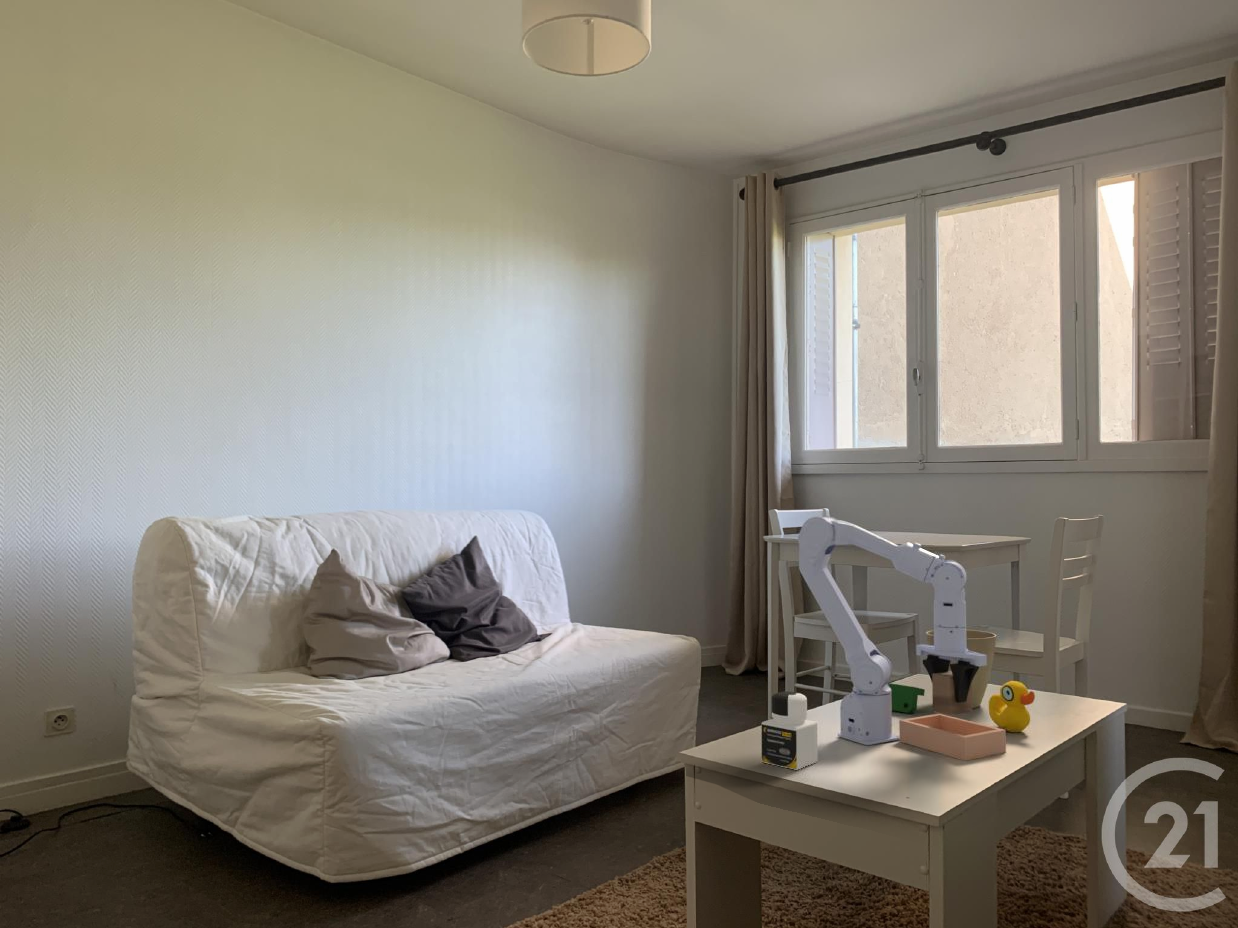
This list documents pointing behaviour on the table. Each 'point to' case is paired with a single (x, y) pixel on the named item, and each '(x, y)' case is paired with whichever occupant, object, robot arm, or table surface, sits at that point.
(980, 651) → the plant pot
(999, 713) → the duckling
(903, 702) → the clamp
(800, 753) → the medicine bottle
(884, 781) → the table surface
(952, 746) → the pink rectangular tray
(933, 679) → the tan wooden block
